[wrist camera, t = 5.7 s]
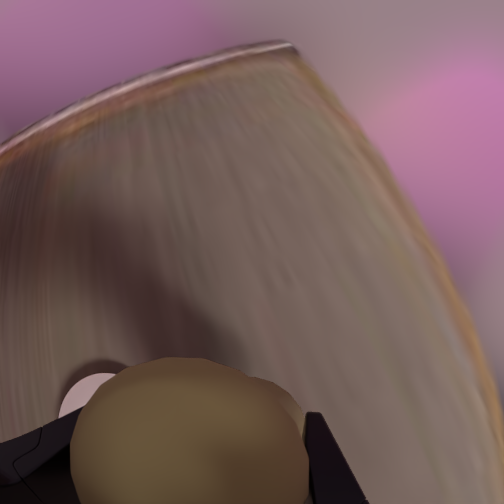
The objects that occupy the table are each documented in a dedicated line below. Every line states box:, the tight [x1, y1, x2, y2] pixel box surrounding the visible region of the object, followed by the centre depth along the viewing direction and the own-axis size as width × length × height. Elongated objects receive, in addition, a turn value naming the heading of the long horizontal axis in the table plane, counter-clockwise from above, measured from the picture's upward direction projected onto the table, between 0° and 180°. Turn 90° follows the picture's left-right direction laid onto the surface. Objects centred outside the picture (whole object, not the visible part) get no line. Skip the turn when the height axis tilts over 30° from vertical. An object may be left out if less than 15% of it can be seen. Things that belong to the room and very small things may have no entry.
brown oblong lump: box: [70, 357, 309, 504], centre depth 9 cm, size 6×6×11 cm
